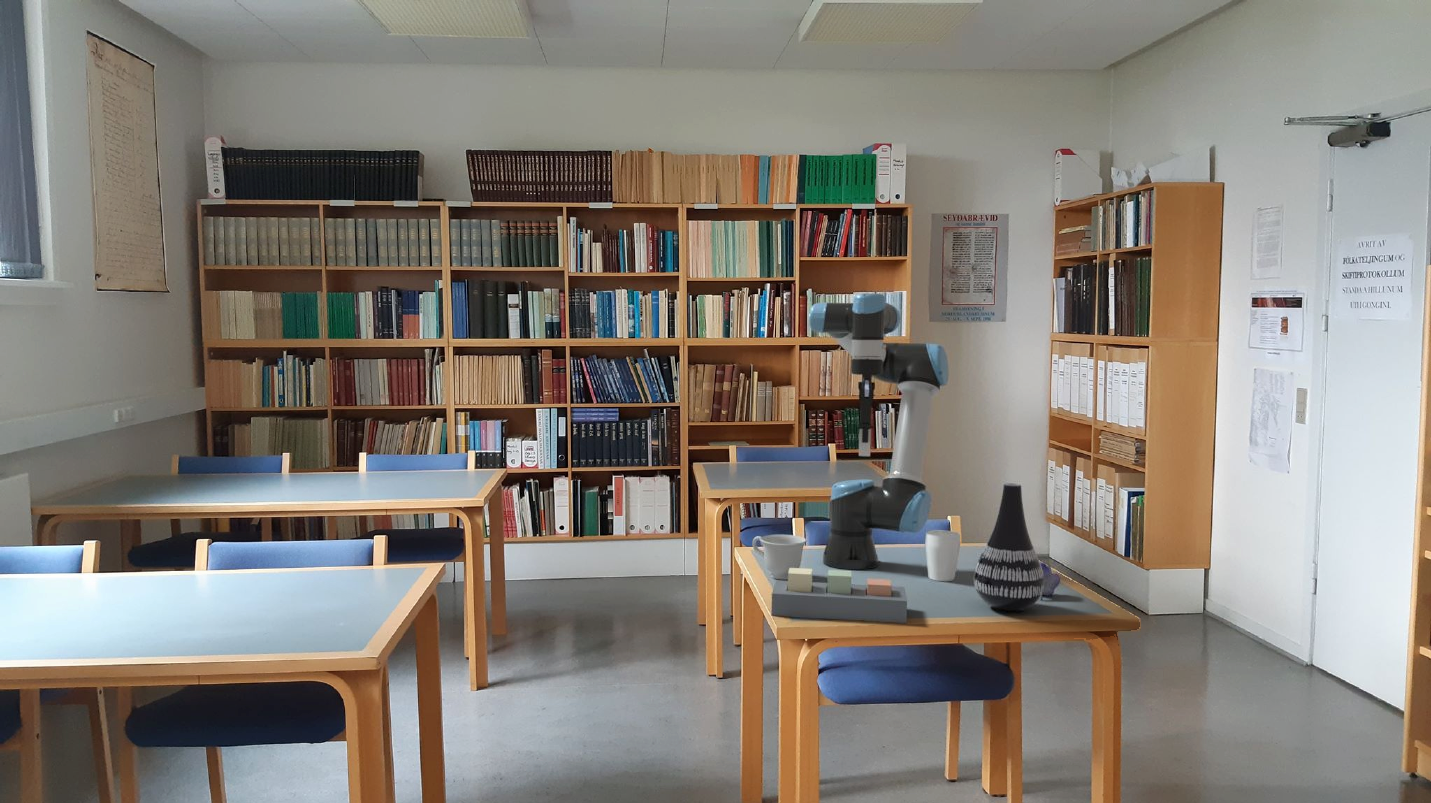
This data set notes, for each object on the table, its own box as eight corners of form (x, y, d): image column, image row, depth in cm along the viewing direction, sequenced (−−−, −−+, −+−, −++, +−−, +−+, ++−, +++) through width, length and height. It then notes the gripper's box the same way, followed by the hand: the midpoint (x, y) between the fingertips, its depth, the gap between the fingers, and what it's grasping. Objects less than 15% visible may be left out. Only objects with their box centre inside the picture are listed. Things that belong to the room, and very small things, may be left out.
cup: (962, 576, 260) (963, 532, 259) (955, 584, 252) (956, 538, 251) (928, 572, 264) (929, 528, 263) (920, 580, 256) (921, 534, 255)
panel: (771, 615, 222) (771, 593, 221) (775, 600, 233) (776, 580, 233) (906, 623, 218) (907, 601, 217) (903, 608, 229) (904, 587, 229)
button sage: (827, 603, 223) (827, 575, 223) (827, 597, 228) (828, 569, 228) (850, 604, 222) (851, 576, 222) (850, 598, 228) (851, 570, 227)
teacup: (762, 567, 266) (763, 531, 265) (813, 575, 259) (814, 537, 258) (741, 576, 256) (742, 539, 255) (793, 585, 248) (794, 546, 248)
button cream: (787, 601, 224) (788, 573, 224) (788, 595, 230) (789, 567, 229) (810, 602, 224) (811, 574, 223) (811, 596, 229) (812, 568, 228)
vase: (1033, 622, 220) (1038, 492, 217) (963, 611, 228) (968, 485, 226) (1050, 606, 233) (1055, 483, 231) (984, 595, 241) (988, 477, 239)
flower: (1062, 577, 235) (1049, 551, 243) (1027, 589, 236) (1015, 563, 245) (1072, 603, 239) (1058, 577, 248) (1038, 615, 241) (1025, 588, 249)
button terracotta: (866, 612, 222) (867, 584, 221) (866, 606, 227) (867, 578, 227) (890, 614, 221) (891, 585, 221) (889, 607, 226) (890, 579, 226)
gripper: (884, 359, 228) (880, 459, 230) (882, 357, 241) (879, 453, 243) (851, 358, 229) (848, 458, 231) (851, 357, 242) (848, 452, 244)
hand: (864, 455), depth 237 cm, fingers closed
